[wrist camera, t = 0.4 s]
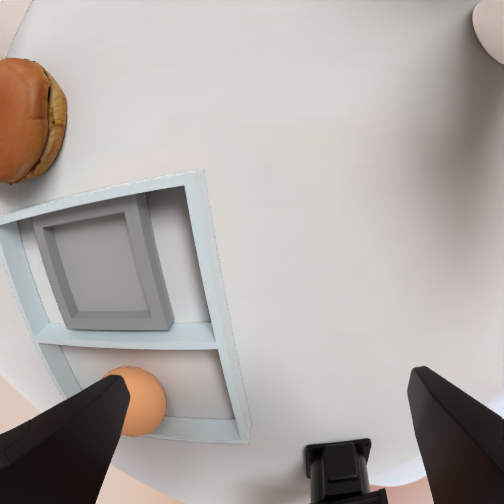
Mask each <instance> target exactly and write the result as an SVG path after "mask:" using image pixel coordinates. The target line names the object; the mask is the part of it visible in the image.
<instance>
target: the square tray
mask: <svg viewBox="0 0 504 504" xmlns="http://www.w3.org/2000/svg"><path fill="white" fill-rule="evenodd" d="M31 220H32V224H33V228H34V232H35V236H36V239H37V243H38V247H39V250H40V254H41V257H42V260H43V263H44V267H45V270H46V273H47V276H48V279H49V282H50V285H51V288H52V291H53V294H54V296H55V299H56V302H57V305H58V307H59V310H60V313H61V315H62V318H63V320H64V323H65V325H66V328H67V329H88V330H169V328H170V326H171V325H172V323H173V321H174V315H173V311H172V308H171V304H170V300H169V296H168V292H167V289H166V285H165V281H164V277H163V273H162V268H161V264H160V260H159V256H158V252H157V247H156V243H155V238H154V234H153V229H152V224H151V220H150V215H149V210H148V205H147V200H146V194H145V192H142V193H137V194H131V195H126V196H121V197H116V198H111V199H106V200H101V201H96V202H92V203H87V204H83V205H78V206H74V207H69V208H65V209H61V210H56V211H52V212H48V213H44V214H40V215H36V216H32V217H31Z"/></svg>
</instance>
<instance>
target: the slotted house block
mask: <svg viewBox="0 0 504 504" xmlns="http://www.w3.org/2000/svg"><path fill="white" fill-rule="evenodd" d="M32 1H33V0H0V60H2V59H5V58H6V57H7V54H8V52H9V49H10V47H11V44H12V42H13V40H14V37H15V35H16V33H17V31H18V29H19V27H20V24H21V22H22V20H23V18H24V16H25V14H26V12H27V10H28V8H29V6H30V4H31V3H32Z"/></svg>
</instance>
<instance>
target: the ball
mask: <svg viewBox="0 0 504 504" xmlns="http://www.w3.org/2000/svg"><path fill="white" fill-rule="evenodd" d="M110 374H115V375H121V376H122V377H123V378H124V380H125V383H126V385H127V388H128V390H129V392H130V403H129V406H128V410H127V414H126V417H125V421H124V425H123V429H122V432H121V434H122V435H126V436H142V435H145V434H148V433H150V432H152V431H153V430H154V429H156V428H157V427H158V426H159V424H160V423H161V422H162V420H163V418H164V416H165V412H166V397H165V393H164V391H163V388H162V386H161V385H160V383H159V382H158V381H157V380H156V379H155V378H154V377H153V376H152V375H151V374H149V373H148V372H146V371H144V370H142V369H139V368H136V367H120V368H116V369H114V370H112V371H110V372H109V373H107V374H106V375H105V376H104V377H103V378H105V377H106V376H108V375H110ZM103 378H102V379H103Z"/></svg>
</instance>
